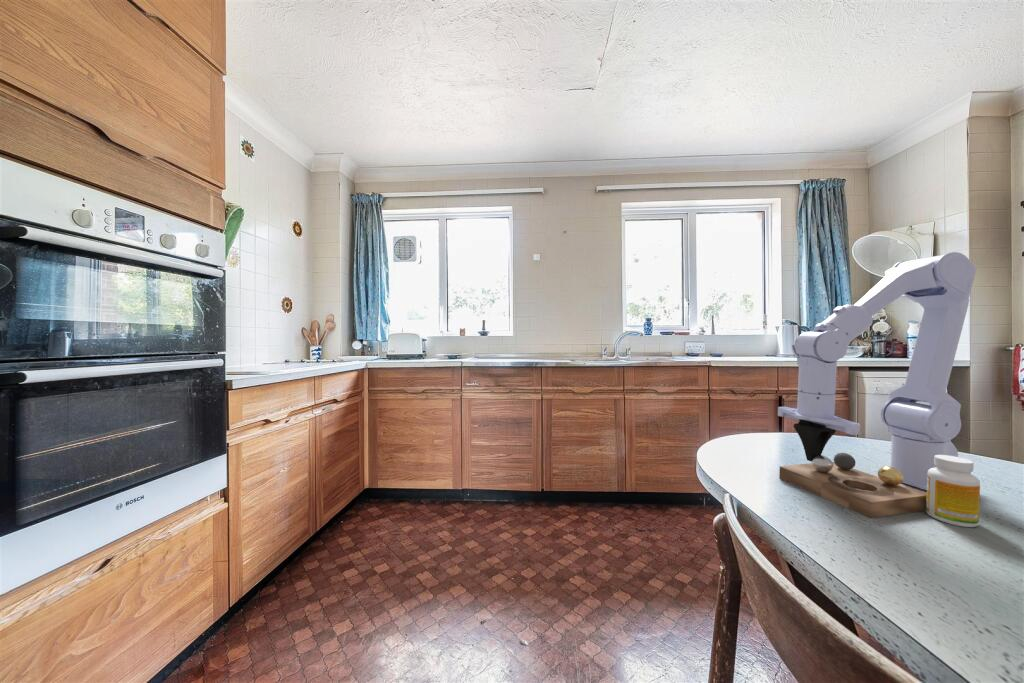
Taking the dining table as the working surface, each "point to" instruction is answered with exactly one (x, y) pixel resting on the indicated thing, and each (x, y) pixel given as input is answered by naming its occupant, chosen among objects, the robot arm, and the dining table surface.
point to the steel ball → (822, 463)
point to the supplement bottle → (953, 491)
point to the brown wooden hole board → (856, 490)
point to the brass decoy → (890, 475)
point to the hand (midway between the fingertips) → (813, 460)
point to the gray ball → (844, 461)
